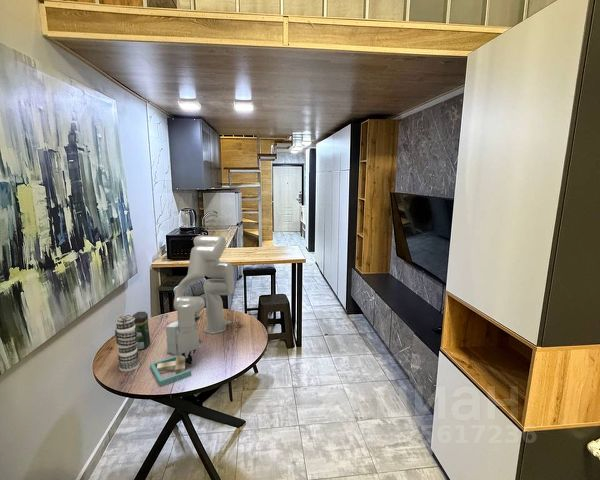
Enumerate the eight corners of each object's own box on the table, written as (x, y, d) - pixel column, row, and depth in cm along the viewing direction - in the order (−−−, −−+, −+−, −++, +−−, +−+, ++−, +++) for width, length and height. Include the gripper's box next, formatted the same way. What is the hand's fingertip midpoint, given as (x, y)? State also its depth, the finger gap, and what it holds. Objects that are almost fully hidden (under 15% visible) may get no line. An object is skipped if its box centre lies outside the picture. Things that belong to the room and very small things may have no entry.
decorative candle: (119, 363, 156) (115, 314, 152) (141, 359, 160) (136, 312, 155) (116, 373, 148) (111, 322, 144) (139, 369, 151) (134, 319, 147)
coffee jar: (136, 342, 177) (134, 310, 174) (151, 341, 178) (149, 309, 175) (130, 351, 168) (127, 317, 165) (146, 350, 169) (143, 316, 166)
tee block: (185, 360, 159) (184, 355, 158) (185, 373, 148) (184, 367, 147) (158, 365, 155) (158, 359, 154) (156, 379, 144) (156, 372, 143)
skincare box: (176, 354, 164) (174, 327, 162) (166, 353, 166) (164, 326, 164) (186, 347, 172) (185, 321, 170) (177, 345, 174) (175, 319, 171)
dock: (179, 359, 160) (179, 354, 159) (191, 375, 146) (191, 370, 146) (150, 368, 152) (149, 363, 151) (160, 386, 138) (159, 381, 138)
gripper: (199, 321, 158) (201, 355, 161) (168, 329, 149) (170, 365, 152) (205, 326, 152) (207, 362, 155) (173, 335, 143) (175, 372, 146)
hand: (189, 363), depth 154 cm, fingers closed
